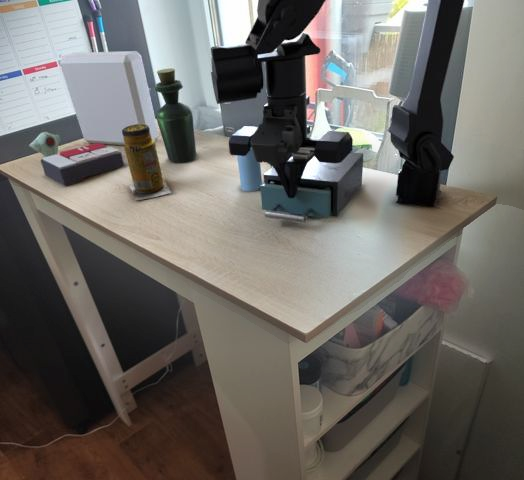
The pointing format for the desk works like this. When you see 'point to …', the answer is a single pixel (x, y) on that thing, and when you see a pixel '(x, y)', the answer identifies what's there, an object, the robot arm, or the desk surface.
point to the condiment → (143, 163)
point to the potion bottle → (175, 120)
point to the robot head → (46, 144)
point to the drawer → (296, 201)
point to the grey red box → (81, 163)
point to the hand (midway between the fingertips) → (291, 197)
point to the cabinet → (332, 178)
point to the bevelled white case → (108, 94)
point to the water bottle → (249, 172)
